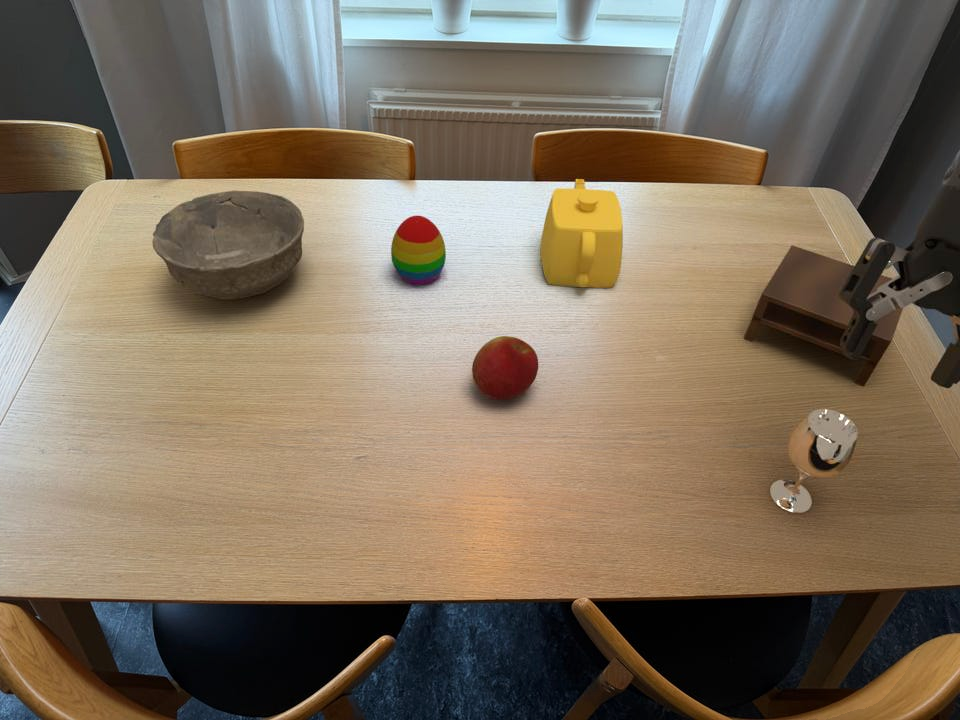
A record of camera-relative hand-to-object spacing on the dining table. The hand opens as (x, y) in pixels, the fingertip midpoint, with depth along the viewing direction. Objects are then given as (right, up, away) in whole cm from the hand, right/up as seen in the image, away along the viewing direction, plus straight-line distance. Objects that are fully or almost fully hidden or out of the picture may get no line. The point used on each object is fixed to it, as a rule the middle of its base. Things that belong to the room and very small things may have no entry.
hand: (894, 370), depth 60 cm
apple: (-34, -3, +25) cm, 43 cm away
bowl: (-73, +13, +40) cm, 84 cm away
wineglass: (-3, -14, +14) cm, 20 cm away
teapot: (-22, +17, +46) cm, 54 cm away
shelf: (+10, +5, +34) cm, 36 cm away
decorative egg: (-47, +14, +42) cm, 65 cm away
